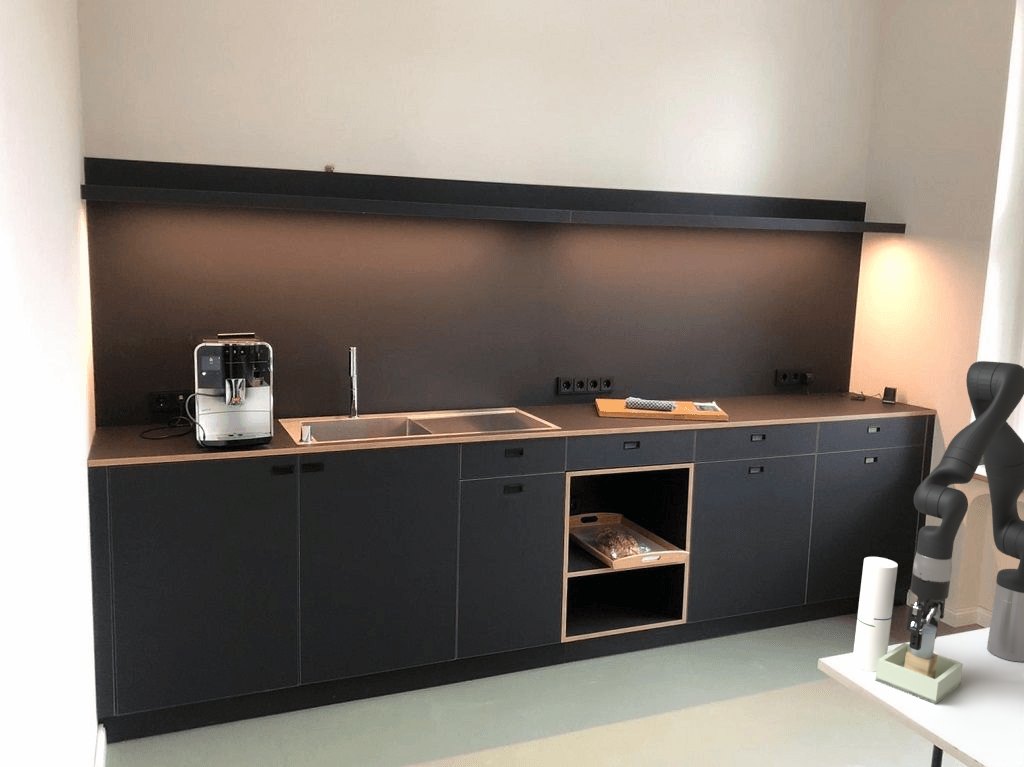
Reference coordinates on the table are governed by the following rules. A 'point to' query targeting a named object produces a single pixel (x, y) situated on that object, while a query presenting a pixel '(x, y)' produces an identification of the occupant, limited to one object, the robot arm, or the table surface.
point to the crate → (918, 675)
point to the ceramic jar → (926, 643)
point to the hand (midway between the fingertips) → (922, 643)
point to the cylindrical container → (874, 612)
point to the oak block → (921, 664)
